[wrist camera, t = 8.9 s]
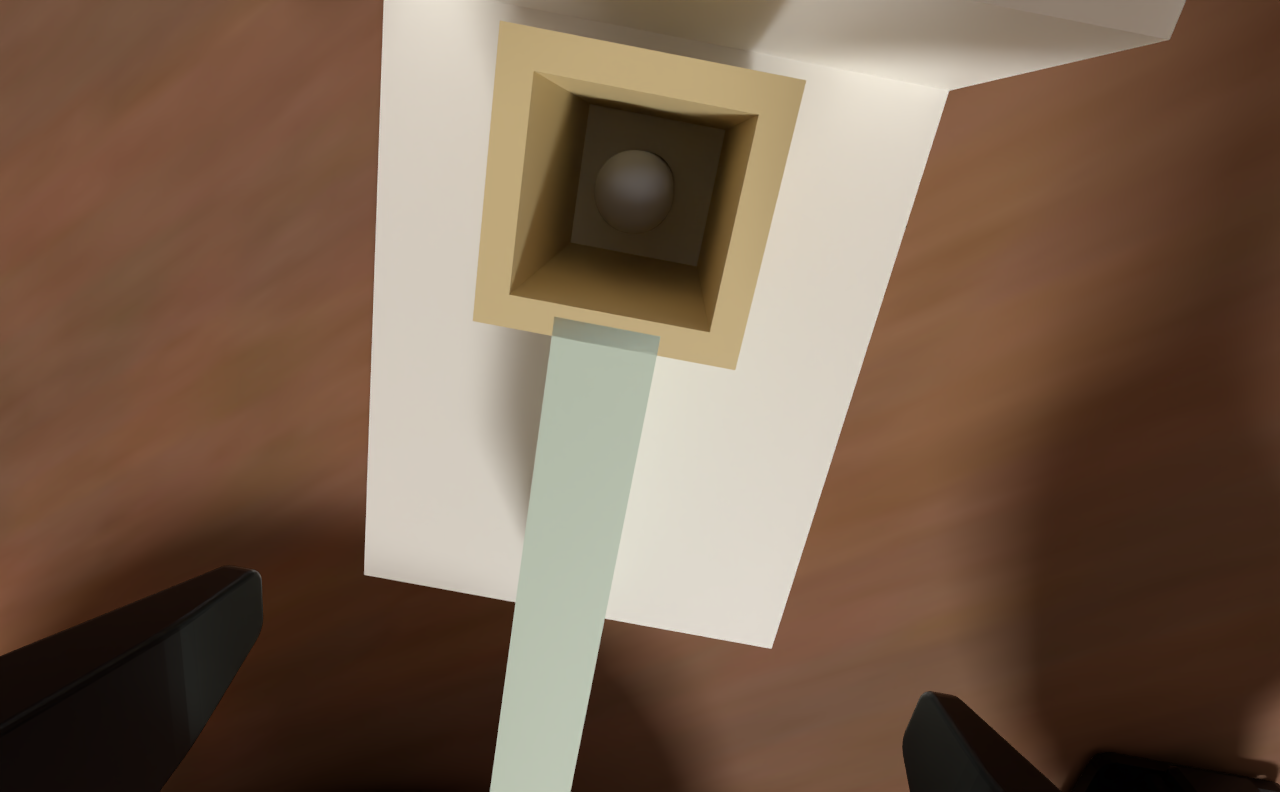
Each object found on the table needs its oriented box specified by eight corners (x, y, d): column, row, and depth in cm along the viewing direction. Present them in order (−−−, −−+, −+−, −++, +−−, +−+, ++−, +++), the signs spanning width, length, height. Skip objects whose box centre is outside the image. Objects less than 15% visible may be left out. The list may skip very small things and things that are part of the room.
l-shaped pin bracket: (764, 614, 20) (817, 882, 13) (385, 545, 20) (214, 777, 13) (953, -2, 14) (1256, -170, 7) (417, -109, 14) (128, -401, 7)
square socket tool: (640, 618, 19) (625, 816, 13) (503, 594, 19) (431, 782, 13) (753, 110, 14) (806, 80, 8) (570, 74, 14) (499, 20, 8)
